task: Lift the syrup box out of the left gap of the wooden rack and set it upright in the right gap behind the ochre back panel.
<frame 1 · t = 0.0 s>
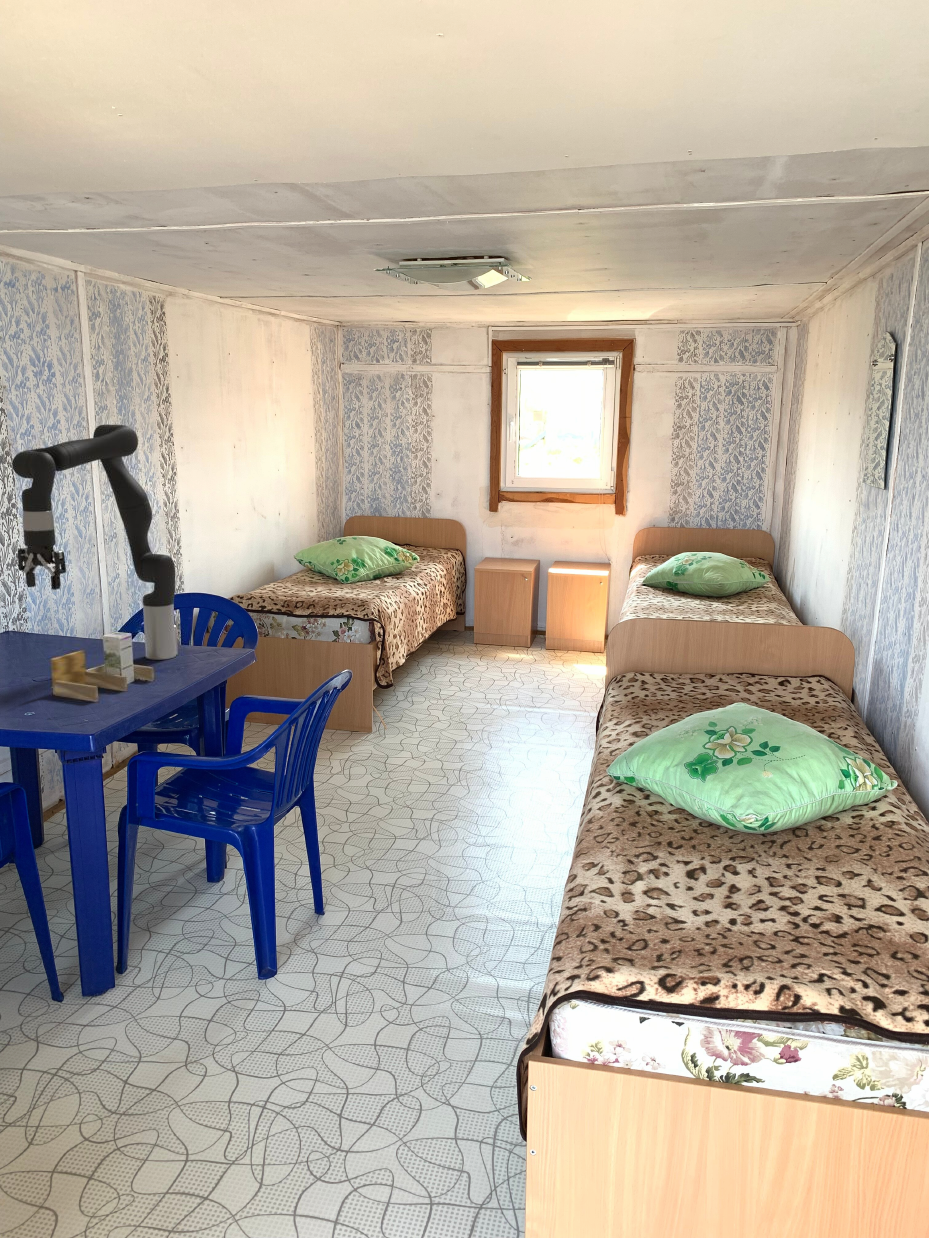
hand: (43, 588, 239), 29 cm above the table, tool pointing down, fingers open, 8 cm apart
syrup box: (120, 683, 255), resting in wooden rack
wooden rack: (106, 687, 250), on the table
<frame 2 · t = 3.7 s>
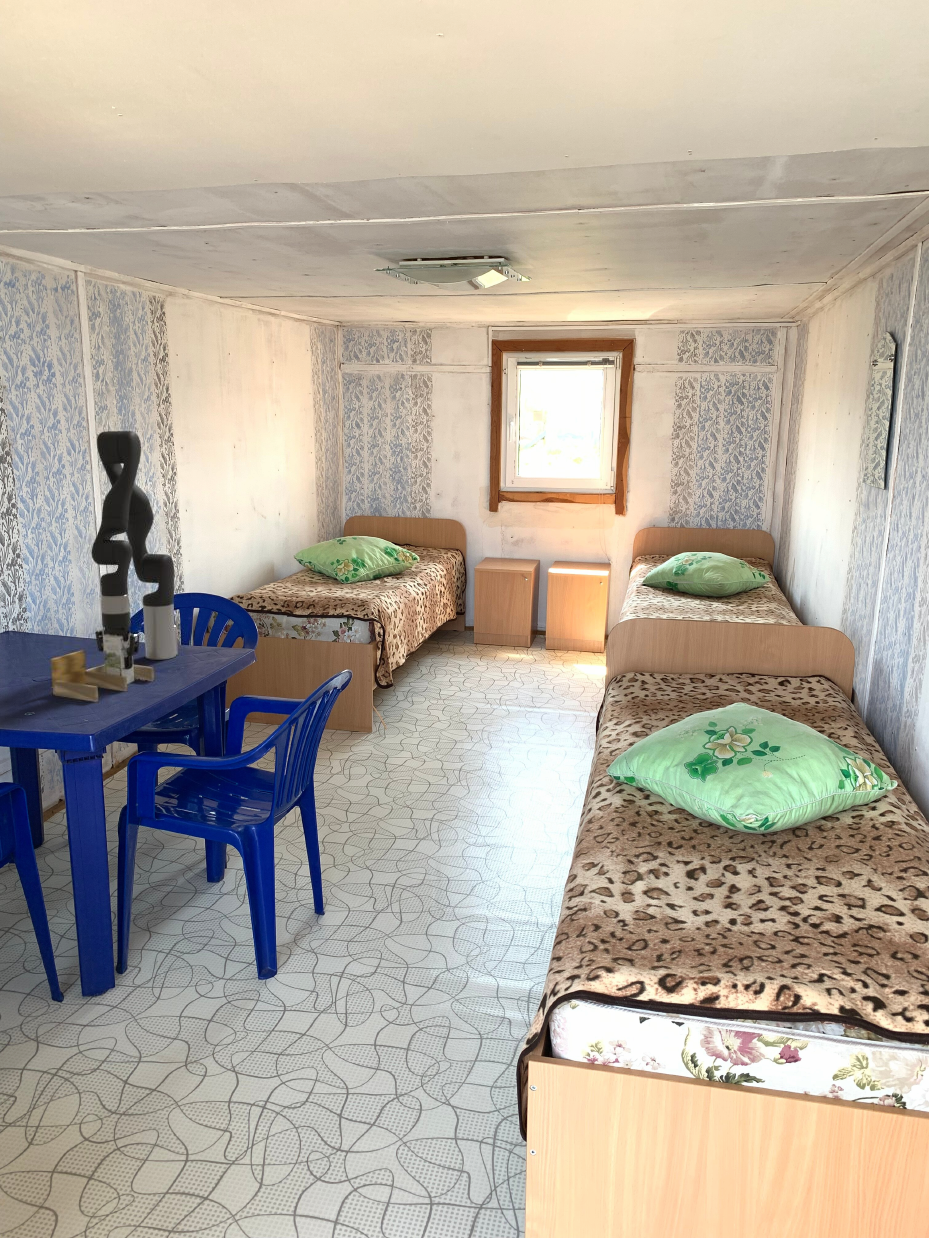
hand: (119, 667, 254), 5 cm above the table, tool pointing down, fingers closed on syrup box, 6 cm apart
syrup box: (120, 683, 255), resting in wooden rack, touching gripper
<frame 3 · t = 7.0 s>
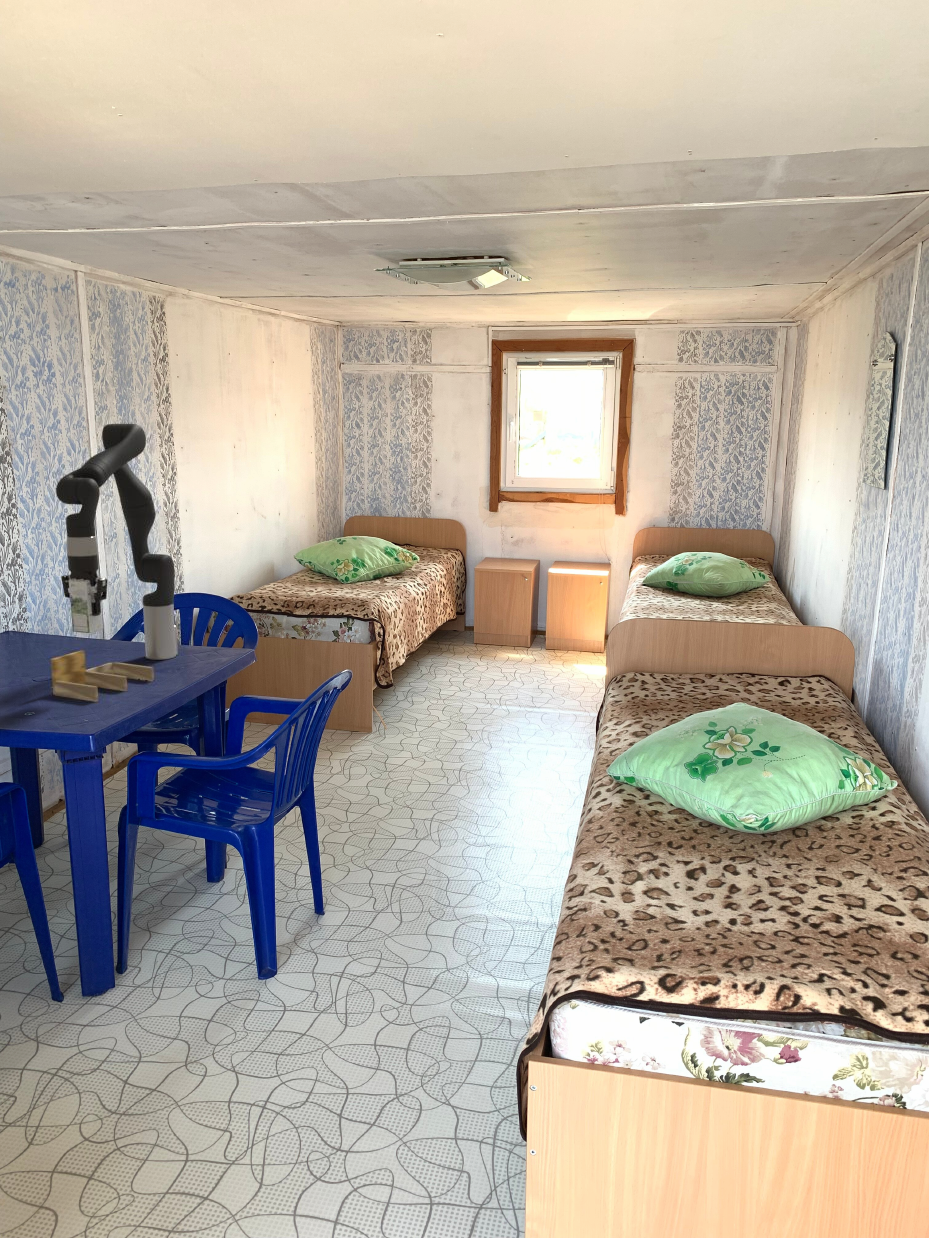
hand: (86, 614, 241), 22 cm above the table, tool pointing down, fingers closed on syrup box, 6 cm apart
syrup box: (87, 631, 242), point 17 cm above the table, touching gripper
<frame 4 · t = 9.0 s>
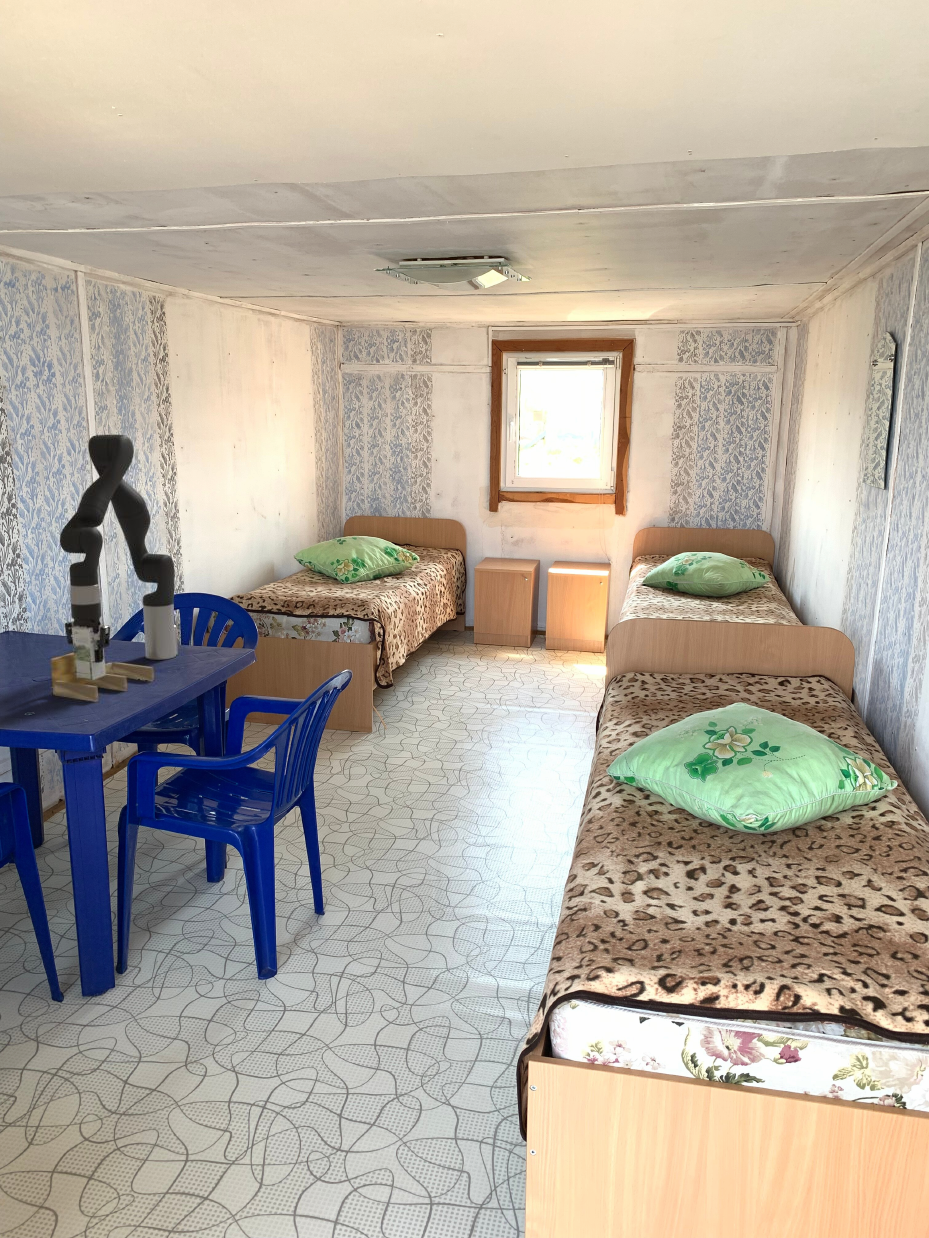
hand: (89, 660, 243), 9 cm above the table, tool pointing down, fingers closed on syrup box, 6 cm apart
syrup box: (90, 677, 244), point 4 cm above the table, touching gripper
when the fingers open (6 cm above the table, at t = 10.7 s): syrup box drops 1 cm, resting in wooden rack.
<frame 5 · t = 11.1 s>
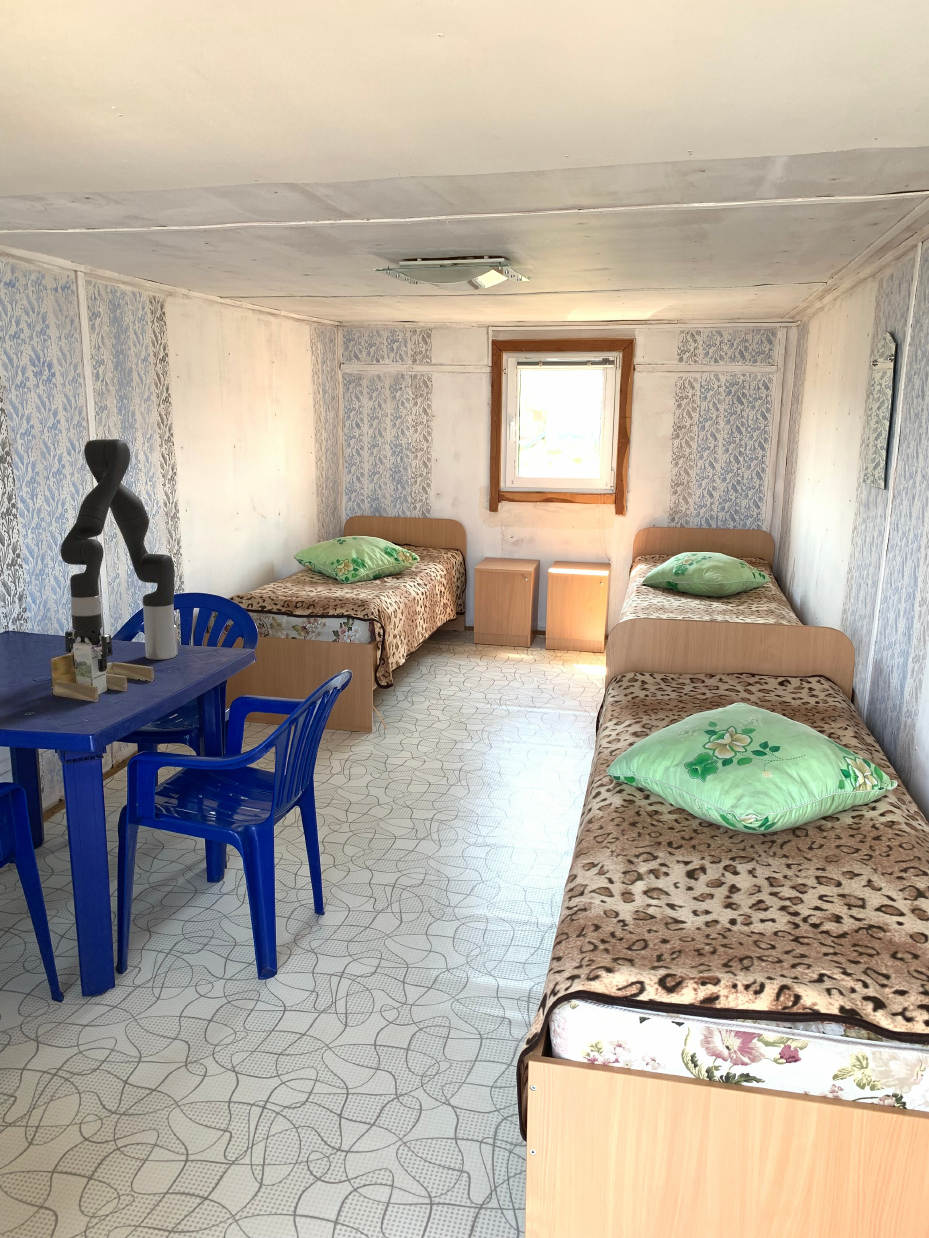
hand: (90, 669, 244), 7 cm above the table, tool pointing down, fingers open, 8 cm apart
syrup box: (92, 693, 245), resting in wooden rack
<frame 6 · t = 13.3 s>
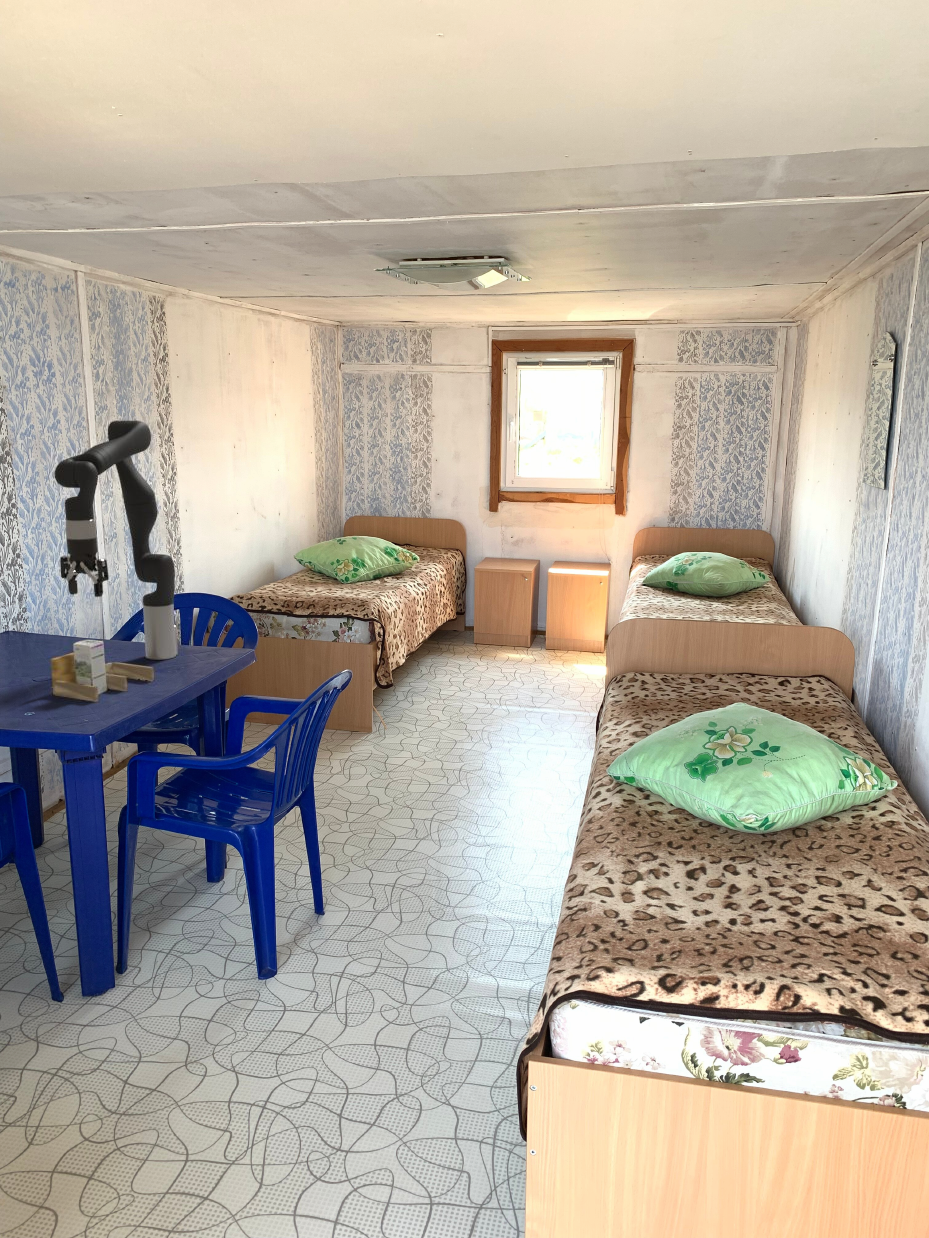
hand: (86, 595, 242), 27 cm above the table, tool pointing down, fingers open, 8 cm apart
nothing on the table moved.
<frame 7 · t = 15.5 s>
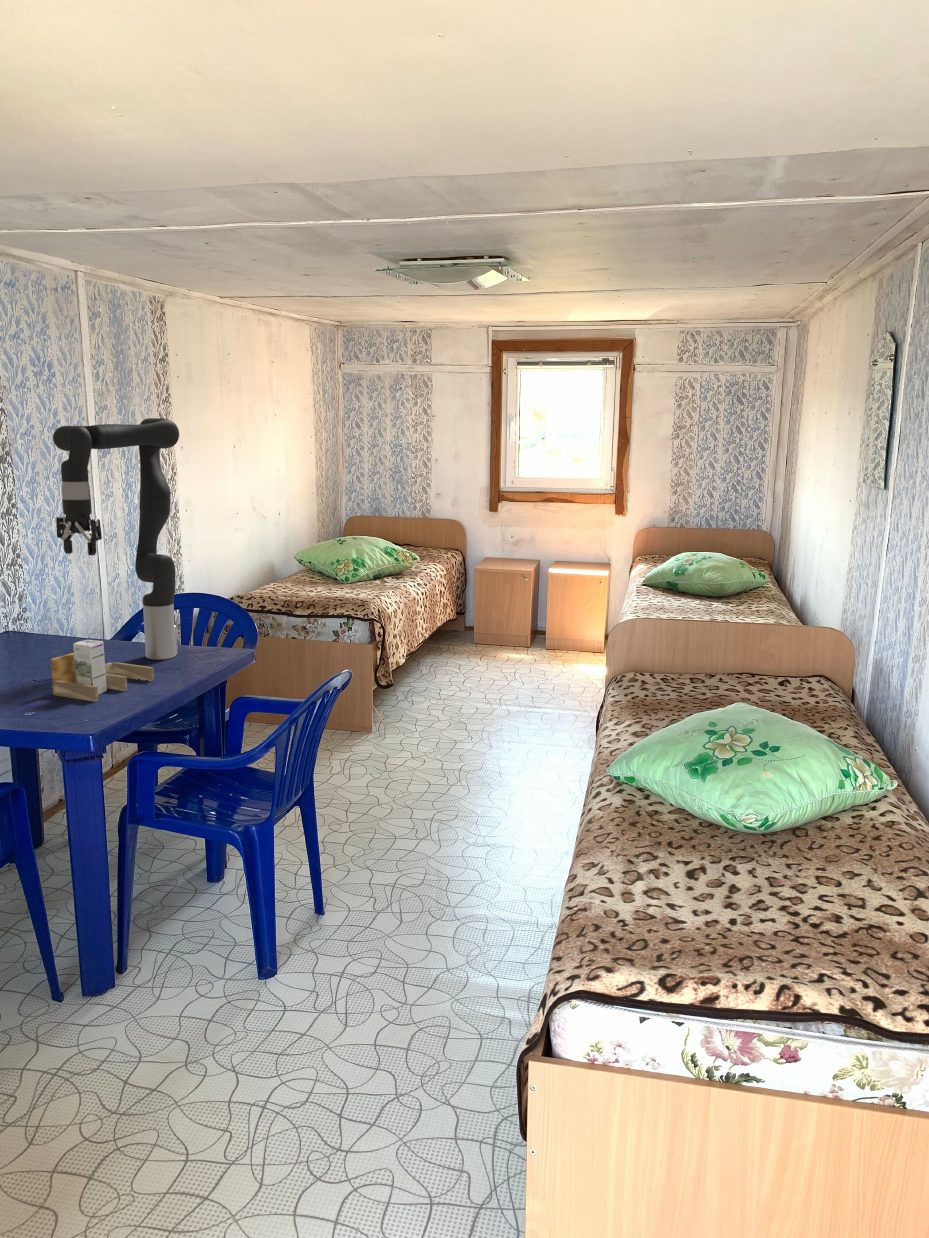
hand: (80, 554, 255), 36 cm above the table, tool pointing down, fingers open, 8 cm apart
nothing on the table moved.
at the end: syrup box 0.1 cm from the target spot on the wooden rack, point 0.0 cm above the wooden rack's base; syrup box tilted 0°; the gripper is holding nothing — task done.
